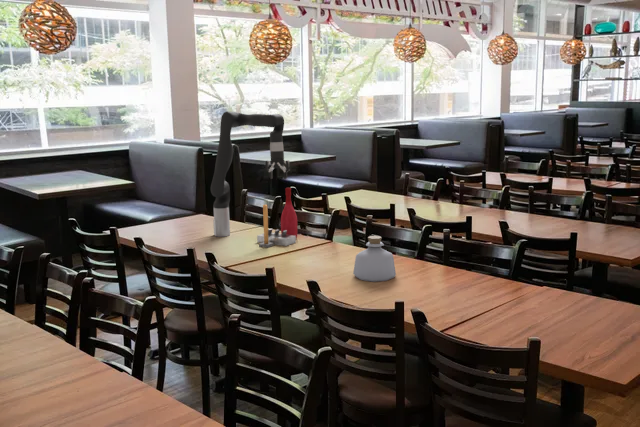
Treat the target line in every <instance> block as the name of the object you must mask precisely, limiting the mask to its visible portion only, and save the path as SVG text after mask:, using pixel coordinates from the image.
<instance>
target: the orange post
mask: <svg viewBox="0 0 640 427" xmlns="http://www.w3.org/2000/svg"><path fill="white" fill-rule="evenodd" d="M262 212H263V213H262V214H263V215H262V217H263V233H264V242H263V243H260V242H259V244H258V247H259V248H267V249H269V248H271V247H274V246H275V244H274V243H271V242H268V229H269V215H268V213H269V212H268V204H263V205H262Z"/></svg>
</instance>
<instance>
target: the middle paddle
mask: <svg viewBox="0 0 640 427" xmlns="http://www.w3.org/2000/svg"><path fill="white" fill-rule="evenodd" d="M280 232H281V229H278V228H277V229H276V230H275V231H274V233H275V234H274V235H278V234H280Z"/></svg>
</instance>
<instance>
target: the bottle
mask: <svg viewBox="0 0 640 427" xmlns="http://www.w3.org/2000/svg"><path fill="white" fill-rule="evenodd" d="M367 240H368V242H366V244H365V246H366V247H367V248H366V249H364V250H362V251H360V252H358V253H357V254H356V255H355V260H354V266H353V275H354V277H356V278H357V279H359V280H360V281H365V282H366V281H367V282H374V283H376V282H377V283H378V282H387V281H390V280H392V279H394V278H395V277H396V275H397V273H396V267H395V266H396V265H395V260H394V259H395V258H394V256H393V253H392V252H391V251H387V249H384V248H382V246H384V245H385V244H384V243H383V242H382V236H379V235H369V236H368V237H367Z"/></svg>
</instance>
